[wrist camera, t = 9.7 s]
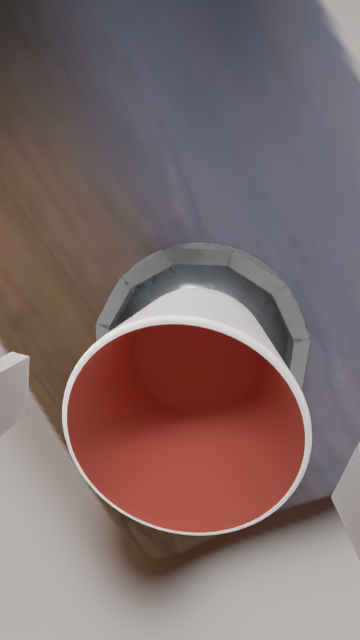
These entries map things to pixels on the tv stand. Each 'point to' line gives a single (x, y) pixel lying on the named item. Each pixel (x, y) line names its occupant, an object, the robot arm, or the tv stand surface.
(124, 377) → the cup
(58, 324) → the tv stand surface
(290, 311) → the faceted steel dish
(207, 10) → the tv stand surface
